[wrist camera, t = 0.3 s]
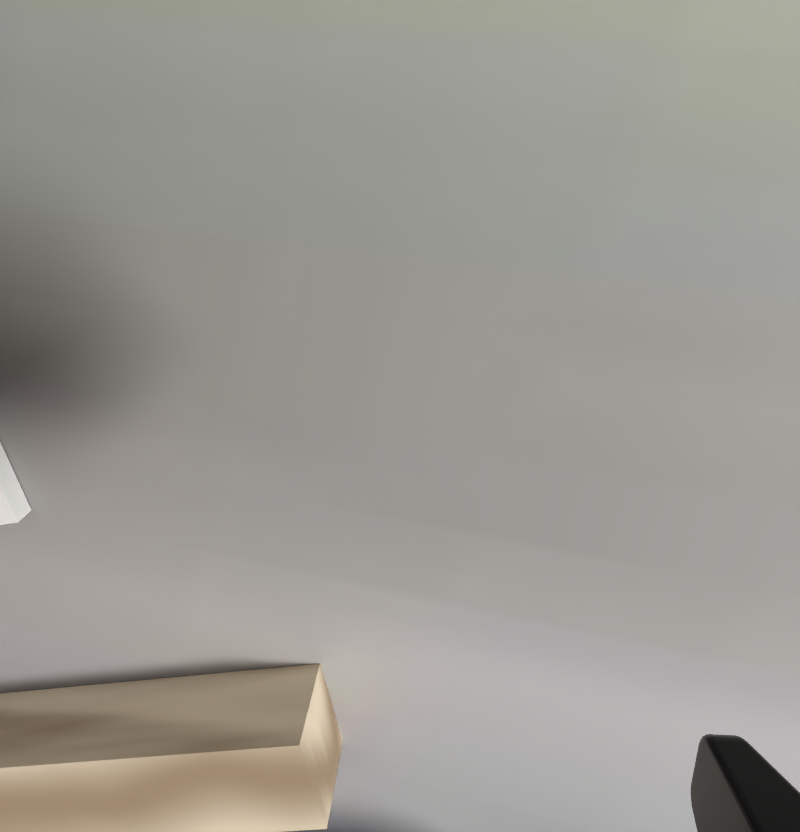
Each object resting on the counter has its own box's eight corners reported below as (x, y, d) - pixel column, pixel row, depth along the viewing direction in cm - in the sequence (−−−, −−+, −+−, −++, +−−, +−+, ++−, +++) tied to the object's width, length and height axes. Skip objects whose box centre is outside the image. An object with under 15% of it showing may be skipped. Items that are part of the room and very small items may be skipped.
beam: (343, 735, 28) (326, 828, 24) (-14, 763, 30) (-78, 852, 27) (321, 658, 27) (299, 745, 23) (-53, 693, 29) (-128, 777, 25)
